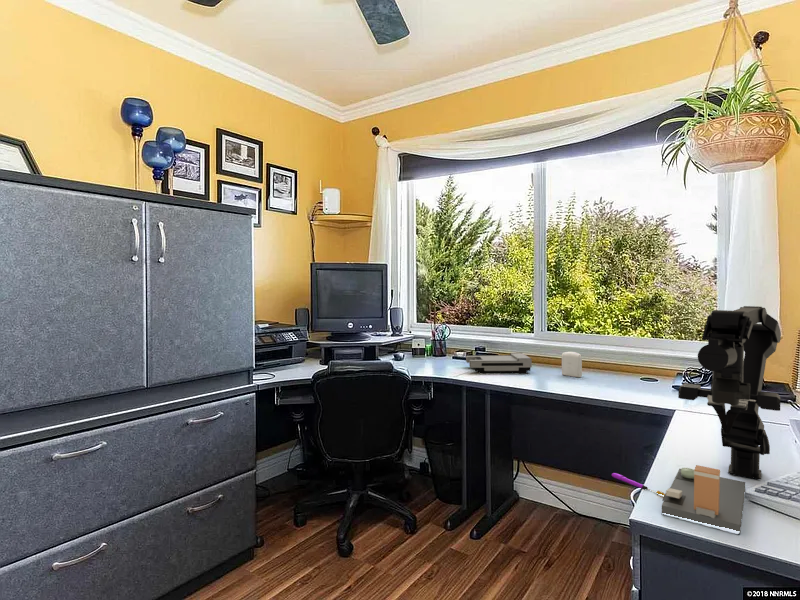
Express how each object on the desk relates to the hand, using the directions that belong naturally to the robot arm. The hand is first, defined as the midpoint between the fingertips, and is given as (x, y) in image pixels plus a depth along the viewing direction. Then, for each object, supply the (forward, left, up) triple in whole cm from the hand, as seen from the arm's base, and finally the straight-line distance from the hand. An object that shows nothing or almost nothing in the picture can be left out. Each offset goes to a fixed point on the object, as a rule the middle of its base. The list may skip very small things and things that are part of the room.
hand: (726, 433), depth 107 cm
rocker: (+17, -8, -10) cm, 21 cm away
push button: (+3, -7, -11) cm, 13 cm away
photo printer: (-113, -72, -13) cm, 135 cm away
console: (+10, -3, -13) cm, 17 cm away
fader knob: (+19, -2, -11) cm, 22 cm away
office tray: (-105, -110, -14) cm, 153 cm away
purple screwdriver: (+10, -15, -14) cm, 22 cm away
